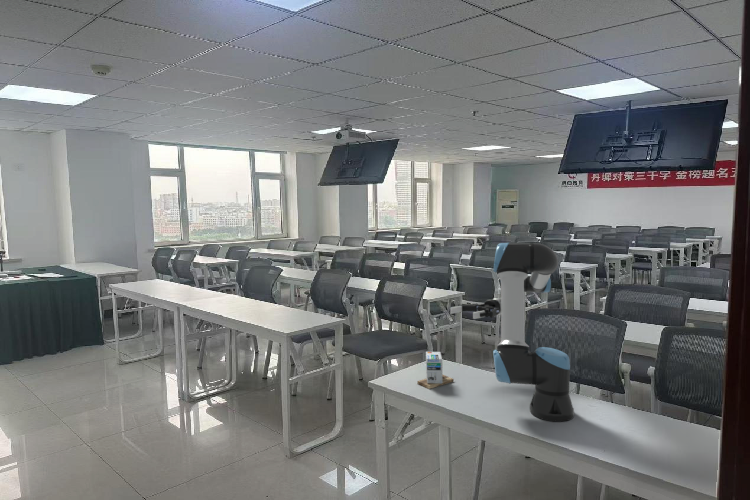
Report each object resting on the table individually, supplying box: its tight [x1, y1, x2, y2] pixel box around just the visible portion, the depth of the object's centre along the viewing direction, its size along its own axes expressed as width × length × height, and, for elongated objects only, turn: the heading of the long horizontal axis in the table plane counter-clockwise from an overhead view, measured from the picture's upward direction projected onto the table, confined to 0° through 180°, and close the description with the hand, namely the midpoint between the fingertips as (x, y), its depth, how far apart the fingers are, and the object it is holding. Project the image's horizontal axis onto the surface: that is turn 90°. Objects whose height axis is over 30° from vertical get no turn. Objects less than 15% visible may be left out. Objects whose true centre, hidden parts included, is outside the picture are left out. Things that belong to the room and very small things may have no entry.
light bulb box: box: [425, 351, 443, 384], centre depth 213 cm, size 11×7×11 cm, turn 176°
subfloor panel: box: [417, 373, 455, 390], centre depth 213 cm, size 8×14×1 cm, turn 125°
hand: (461, 313), depth 215 cm, fingers open, 13 cm apart
